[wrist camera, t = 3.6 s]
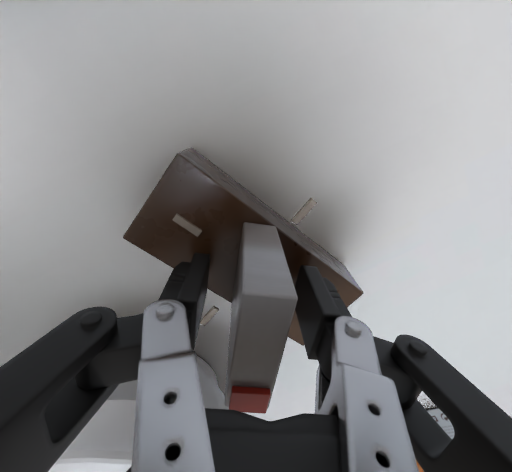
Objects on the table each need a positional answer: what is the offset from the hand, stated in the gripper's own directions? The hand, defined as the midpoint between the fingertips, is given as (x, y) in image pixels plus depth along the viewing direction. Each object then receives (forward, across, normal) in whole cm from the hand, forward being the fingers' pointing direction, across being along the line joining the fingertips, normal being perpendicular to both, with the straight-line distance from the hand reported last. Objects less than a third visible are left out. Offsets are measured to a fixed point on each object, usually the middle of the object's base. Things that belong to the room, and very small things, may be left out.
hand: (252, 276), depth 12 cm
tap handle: (+1, 0, 0) cm, 1 cm away
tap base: (+4, 0, 0) cm, 4 cm away
